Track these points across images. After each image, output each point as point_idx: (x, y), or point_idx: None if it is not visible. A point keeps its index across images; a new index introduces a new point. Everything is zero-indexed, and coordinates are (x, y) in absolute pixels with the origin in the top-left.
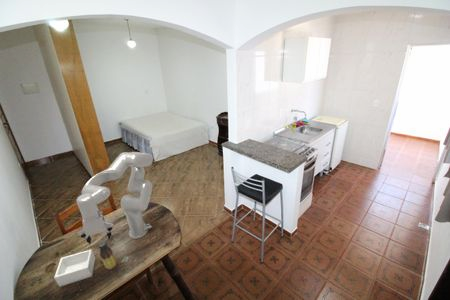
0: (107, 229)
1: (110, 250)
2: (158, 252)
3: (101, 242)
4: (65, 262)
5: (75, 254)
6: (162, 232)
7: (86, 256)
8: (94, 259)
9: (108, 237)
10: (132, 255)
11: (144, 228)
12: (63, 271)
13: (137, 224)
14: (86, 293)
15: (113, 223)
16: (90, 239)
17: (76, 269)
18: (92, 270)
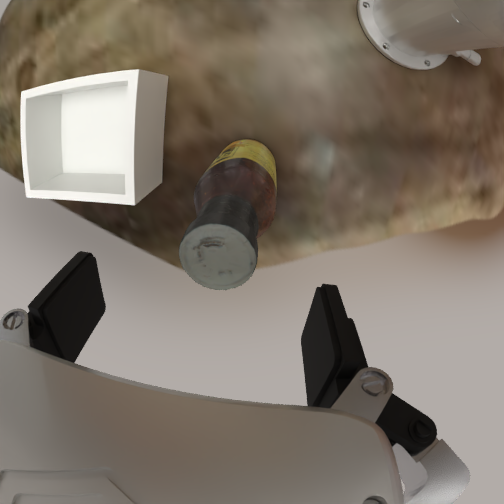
0: (342, 398)
1: (271, 222)
2: (446, 212)
3: (209, 241)
4: (47, 95)
5: (66, 85)
6: (491, 116)
7: (122, 83)
8: (164, 89)
9: (305, 353)
10: (354, 157)
11: (454, 52)
12: (53, 129)
13: (466, 48)
14: (154, 249)
15: (463, 481)
16: (85, 292)
17: (96, 122)
18: (160, 155)
